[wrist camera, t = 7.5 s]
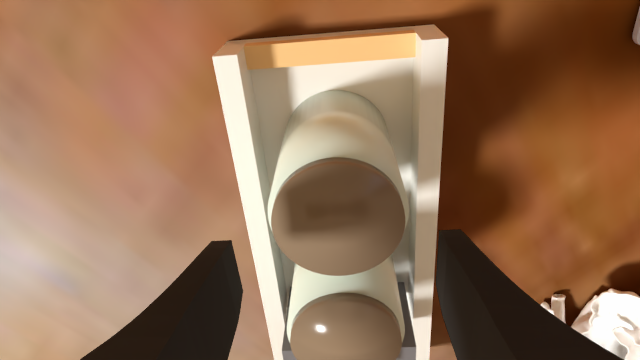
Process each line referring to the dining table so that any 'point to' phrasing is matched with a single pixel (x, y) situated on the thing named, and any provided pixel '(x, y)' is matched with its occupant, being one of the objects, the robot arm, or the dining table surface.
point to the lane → (379, 88)
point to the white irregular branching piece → (607, 321)
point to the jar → (337, 187)
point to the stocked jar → (346, 315)
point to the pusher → (408, 348)
